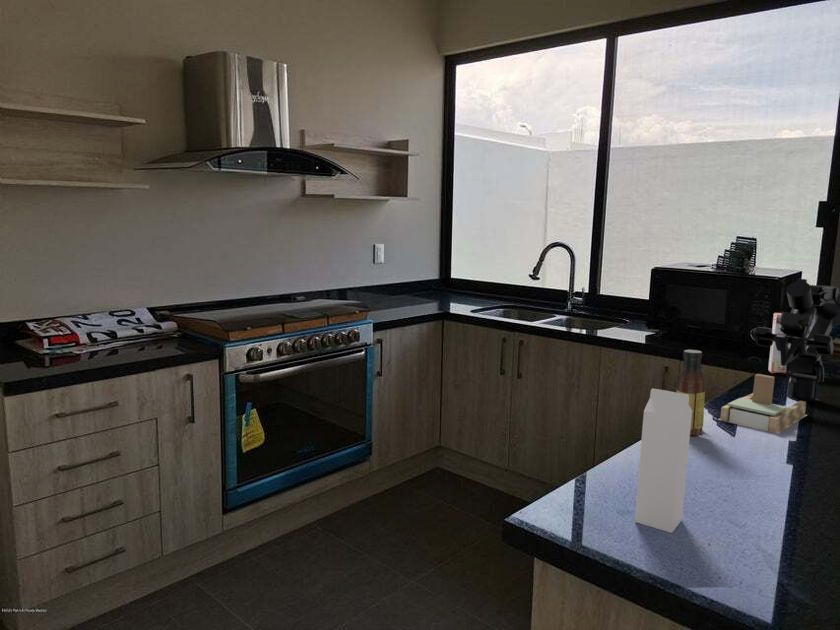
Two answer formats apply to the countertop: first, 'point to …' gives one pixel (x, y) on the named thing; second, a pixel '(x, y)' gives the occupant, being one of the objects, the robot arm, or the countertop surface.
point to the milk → (663, 460)
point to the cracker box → (774, 353)
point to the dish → (750, 418)
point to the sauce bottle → (693, 388)
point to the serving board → (777, 421)
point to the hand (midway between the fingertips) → (782, 364)
